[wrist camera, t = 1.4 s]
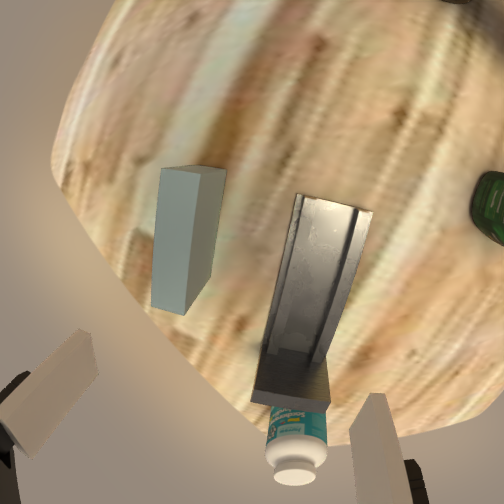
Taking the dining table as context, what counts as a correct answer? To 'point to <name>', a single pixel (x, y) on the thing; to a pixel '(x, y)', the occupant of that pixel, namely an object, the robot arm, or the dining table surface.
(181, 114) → the dining table surface
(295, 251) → the floor track
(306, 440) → the pill bottle
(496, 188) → the coffee jar
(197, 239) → the gray rectangular block
